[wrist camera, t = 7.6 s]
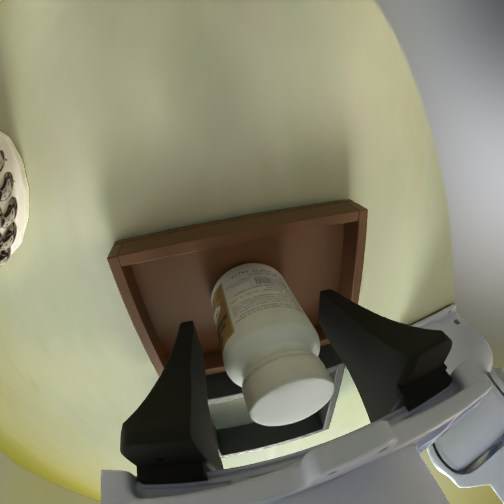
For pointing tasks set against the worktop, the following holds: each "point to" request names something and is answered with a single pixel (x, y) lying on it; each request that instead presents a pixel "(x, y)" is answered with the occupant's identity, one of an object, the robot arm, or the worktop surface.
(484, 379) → the robot arm
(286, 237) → the tray
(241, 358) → the pill bottle
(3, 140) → the decorative candle
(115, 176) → the worktop surface
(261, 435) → the dark grey square frame
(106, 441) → the worktop surface
